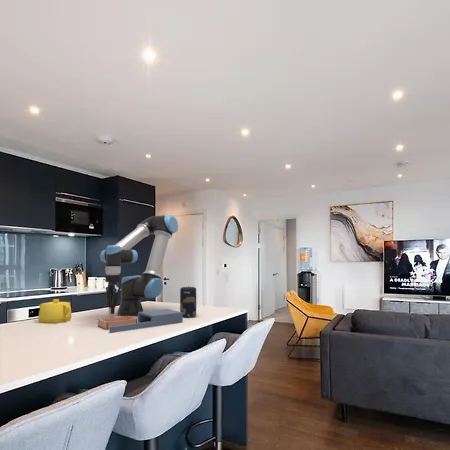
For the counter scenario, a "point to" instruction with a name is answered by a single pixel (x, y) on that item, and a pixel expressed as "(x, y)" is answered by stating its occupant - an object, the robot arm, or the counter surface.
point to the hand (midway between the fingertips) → (111, 319)
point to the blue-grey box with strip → (152, 320)
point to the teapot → (55, 312)
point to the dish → (116, 322)
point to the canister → (188, 301)
